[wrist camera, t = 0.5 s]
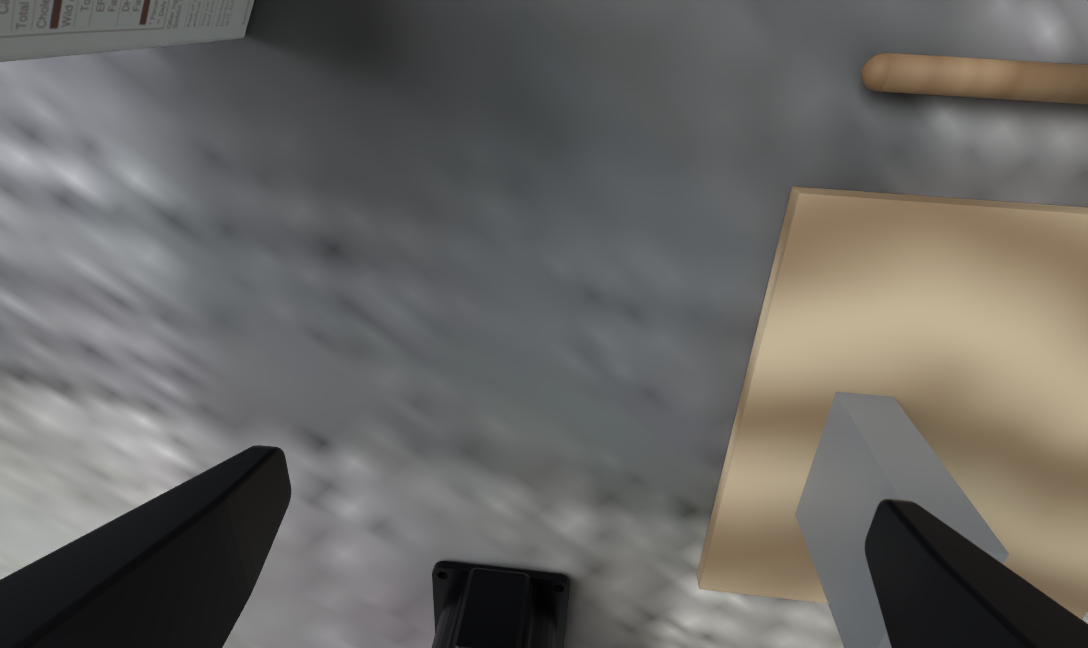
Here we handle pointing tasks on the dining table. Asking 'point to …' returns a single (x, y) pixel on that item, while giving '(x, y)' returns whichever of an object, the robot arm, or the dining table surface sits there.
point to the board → (918, 376)
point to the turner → (977, 78)
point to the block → (873, 504)
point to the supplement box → (114, 25)
